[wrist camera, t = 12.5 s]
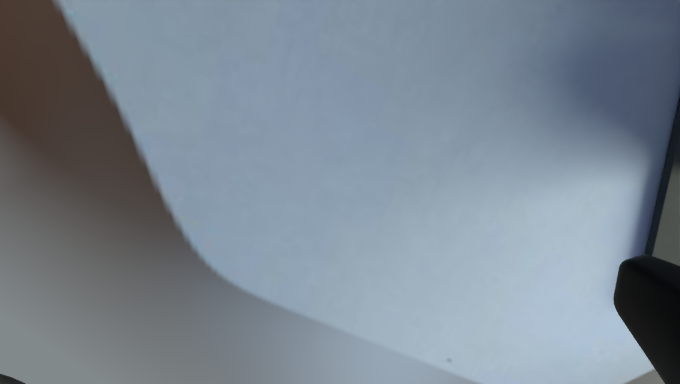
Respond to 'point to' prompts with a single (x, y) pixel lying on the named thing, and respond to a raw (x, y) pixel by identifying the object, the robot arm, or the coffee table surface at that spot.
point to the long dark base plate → (668, 205)
